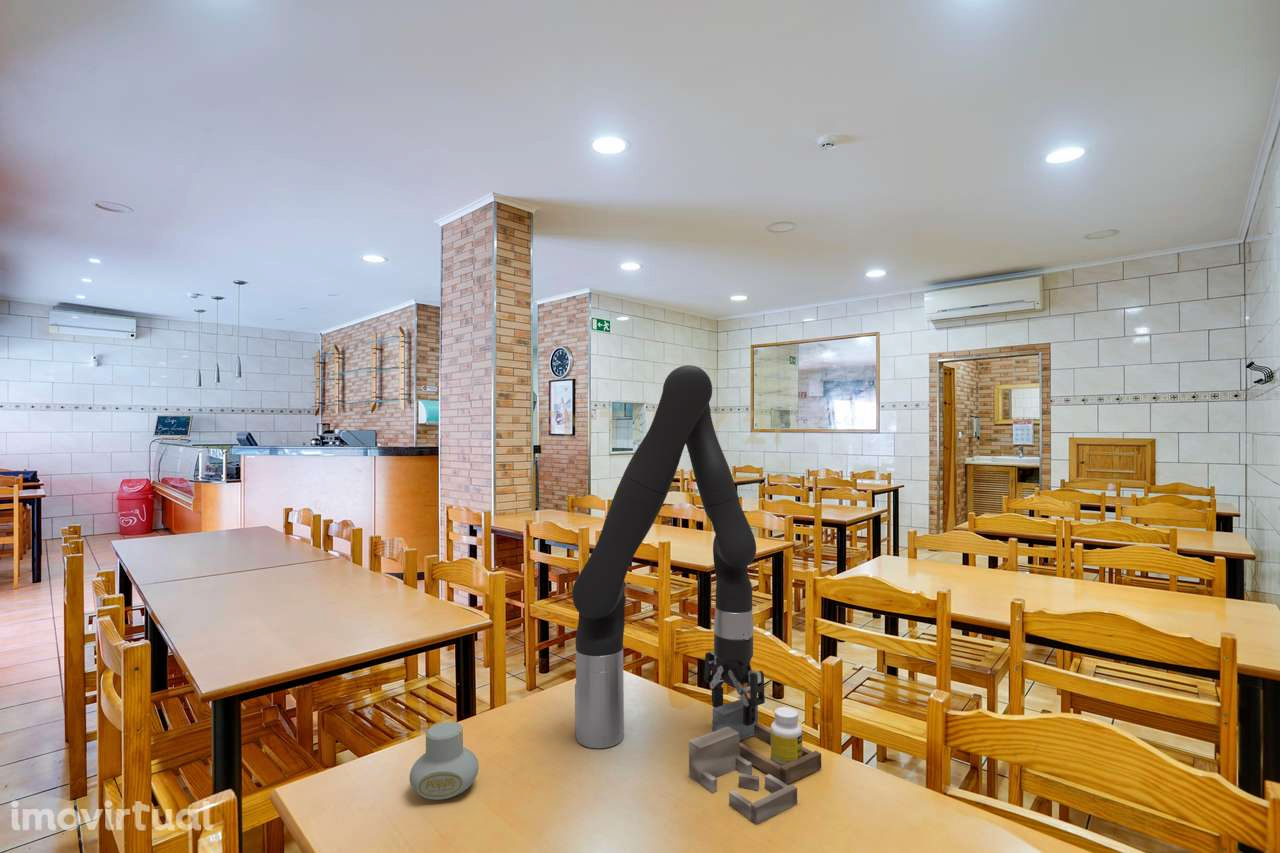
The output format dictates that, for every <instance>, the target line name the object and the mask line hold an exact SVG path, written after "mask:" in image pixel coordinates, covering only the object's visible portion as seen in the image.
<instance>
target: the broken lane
mask: <svg viewBox="0 0 1280 853" xmlns="http://www.w3.org/2000/svg"><path fill="white" fill-rule="evenodd" d="M740 741H741V740H740V734H739V732H737V731H735V730H733V729H732V728H730V727H725V728H722V729H719V730H717V731H714V732H713V731H712V732H710V733H706V734H704V735H701V736H697V737H696V738H694V739H693V738H692V739H690V740H688V776H689V777H690V778H691V779H693V780H694V781H695V782H697V783H698V784H699V785H701V786H702V787H703V788H705V789H707V790H708V791H709V792H710V793H712V794H713V793H715V792H717V791H718V779H717V778H719V777H721V776H723V775H725V774H728V773H730V772H732V771H734V770H737V771H738V772H739V774H738V788H743V789H747V790H752V791H753V790H754V791H759V789H760V776H758V775H754V774H753V765H752V763H751V762H749V761H747V760H746V759H744V758H742V757H741V756H740ZM764 789H766V790H767V791H769V792H771V793H770V794H768V795H766V796H764V797H762V798H760V799H758V800H756V801H754V802H752V801H751V800H749V799H748V798H747V797H744V796H743V794H740V793H739V792H737V791H736V790H734V789H733V790H731V791H729V792H728V796H729V797H728V802H729V803H728V805H729V806H730V807H732V808H733V809H734V810H736V811H737V812H739V813H740V815H741V814H742V816H743V817H745V818H747V820H749V821H751V822H752V823H754V824H755V825H758V824H761V823H762V822H764V821H767V820H768V819H771V818H772V817H775V816H776V815H778V814H780V813H782V812H784V811H786V810H788V809H790V808H792V807H793V806H795V805H796V806H797V805H798V787H797V786H795V785H793V784H792V783H790V785H789V784H785V783H783V782H782V781H780V780H778V779H777V778H775V777H773V776H772V775H770V774H766V775H764Z"/></svg>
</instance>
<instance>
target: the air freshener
mask: <svg viewBox="0 0 1280 853" xmlns="http://www.w3.org/2000/svg"><path fill="white" fill-rule="evenodd" d="M463 728H464V727H463V725H461V724H460V723H458V722H457V721H456V722H455V721H444V722H443V721H442V722H439V723H436V724H434V725H432V726H430V727H429V728H428V729H427V731H426V732H425V753H423V754H422V755H421V756H420V757H419V758H418V759H416V761H415V762H414V763H413V765H412V767H411V769H410V772H409V783H410V784H409V785H410V787H411V788H412V790H413V791H414V793H416V794H417V795H419V796H420V797H422V798H425V799H428V800H435V801H443V800H442V799H446V800H447V799H452V798H453V797H455V796H458V795H460V794H462V793H463V792H465V790H467V789H468V788H470V786H471V785H472V784H473V783H474V781H475V780H476V778H477V776H478V772H479V769H480V766H479V759H478V758H477V756H476V754H475V753H473V751H471V750H470V749H469V748H466V747H464V736H463V735H464V732H463Z"/></svg>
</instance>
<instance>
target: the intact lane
mask: <svg viewBox="0 0 1280 853" xmlns="http://www.w3.org/2000/svg"><path fill="white" fill-rule="evenodd" d="M743 705H744V702H743V700H742V698H740V699H737V700H733V701H732V702H729V703H726V704H723V705H722V706H719V707H716V708H714V707H713V708H712V732H714V731H717V730H719V729H722V728H725V727H730V728H732V729H733V730H735V731H737V732H739V734H740V741H742V740H745V739H747V738H750V737H752V736H756V737H758V738H759V739H761V740H763V741H765V742H766V743H769V744H770V745H771V728H768V727H766V726H764V725H762V724H761V723H759V708H758V707H759V705H758V706H756V714H755V722H754V723H753V724H752V725H749V726H746V725H744V724H743ZM740 756H741V757H742V758H744V759H746V760H747V761H749V762H751V763H752V766H754V767H755V768H757V769H759V770H760V771H762V772H764V773H765V774H766V775H768V774H770V775H772V776H773V777H775V778H777V779H778V780H780V781H782V782H783V783H785V784H787V785H789V784H792V783H793V782H795V781H797V780H800V779H802V778H804V777H806V776H808V775H810V774H812V773H814V772H817V771H818V770H820V769H821V768H822V753H821V752H819V751H818V750H814V751H811V750H810V749H808V748H806V747H804V746H802V757H801V758H798V759H796V760H794V761H792V762H790V763H787V764H785V765H783V766H780V765H778V764H777V763H775V762H773V761H772V760H771V758H768V757H766V756H764V755H763V754H761V753H759V752H758V751H756V750H755V749H753V748H751V747H749V746H747V745H746V744H744V743H743V742H740Z"/></svg>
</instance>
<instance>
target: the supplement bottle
mask: <svg viewBox="0 0 1280 853" xmlns="http://www.w3.org/2000/svg"><path fill="white" fill-rule="evenodd" d="M798 721H799V712H798V711H797V710H796V709H794V708H792V707H789V706H788V707H786V706H783V707H782V706H781V707H778V708H775V710H774V721H773V722H772V723H770V724H771V725H770V730H771V744H770V760H772V761H773V762H775V763H777V764H778V765H780V766H783V765H785V764H787V763H790V762H792V761H794V760H796V759H798V758H801V757H802V747H803V729H802V726H801V725H800V724H799V722H798Z"/></svg>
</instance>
